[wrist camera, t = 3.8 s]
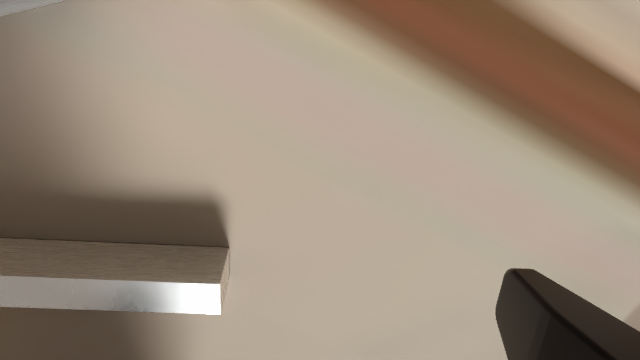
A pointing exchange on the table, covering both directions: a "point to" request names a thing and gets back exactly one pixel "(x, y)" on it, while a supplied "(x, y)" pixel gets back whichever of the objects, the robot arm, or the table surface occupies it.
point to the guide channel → (112, 276)
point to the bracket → (22, 5)
